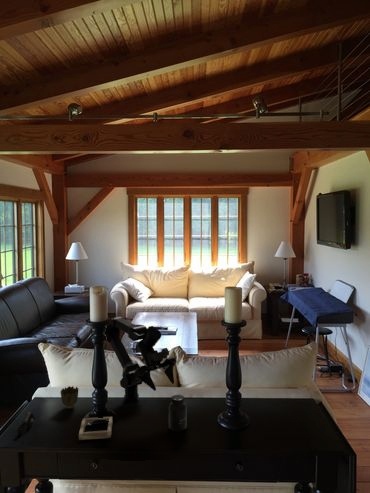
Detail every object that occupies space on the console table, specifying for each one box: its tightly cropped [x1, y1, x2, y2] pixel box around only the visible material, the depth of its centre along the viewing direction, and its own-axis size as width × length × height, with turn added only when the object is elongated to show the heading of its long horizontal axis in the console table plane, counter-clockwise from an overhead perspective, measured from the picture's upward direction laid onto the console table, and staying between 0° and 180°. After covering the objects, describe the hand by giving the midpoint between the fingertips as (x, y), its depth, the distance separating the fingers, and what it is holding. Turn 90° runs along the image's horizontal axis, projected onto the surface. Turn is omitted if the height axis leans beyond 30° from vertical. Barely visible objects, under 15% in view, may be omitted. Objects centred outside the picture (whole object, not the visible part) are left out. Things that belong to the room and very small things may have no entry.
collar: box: [78, 416, 113, 441], centre depth 149 cm, size 11×11×2 cm
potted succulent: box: [60, 385, 79, 410], centre depth 167 cm, size 8×7×8 cm
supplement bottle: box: [168, 394, 188, 433], centre depth 151 cm, size 7×7×12 cm
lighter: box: [16, 411, 36, 436], centre depth 150 cm, size 9×2×6 cm
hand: (164, 386), depth 156 cm, fingers open, 9 cm apart
